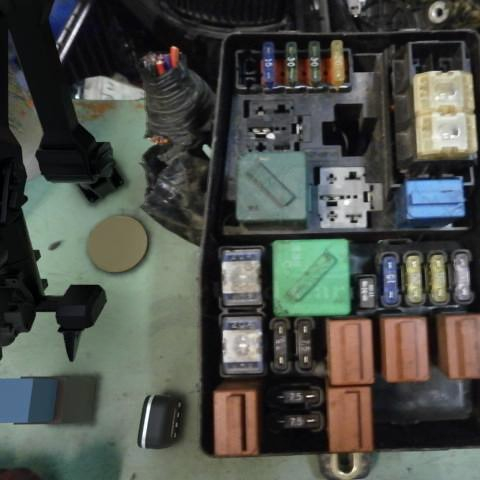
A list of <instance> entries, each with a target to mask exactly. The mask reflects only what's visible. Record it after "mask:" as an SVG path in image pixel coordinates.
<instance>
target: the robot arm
mask: <svg viewBox="0 0 480 480" xmlns="http://www.w3.org/2000/svg"><path fill="white" fill-rule="evenodd" d="M55 1H56V0H0V362H1V361H2V359H3V358H4V357H3V356H4V355H3V348H6V347H8V346H10V345H12V344H13V343H14V342H15V340H16V338H18V337H19V335H20V334H25V333H26V334H27V333H29V332H31V330H32V328H33V326H34V322H35V320H36V319H37V313H54V316H55V317H54V318H55V321H56V325H58V326H59V327H58V328H57V330H56V332H57V333H58V334H60V335H62V338H63V342H64V348H65V352H66V355H67V358H68V362H70V363H73V362H75V359H76V357H77V354H78V350H79V346H80V342H81V336H82V333H83V332H84V331H85V330H88V329H90V328H92V327H94V326H95V325H96V323H97V320H98V319H99V318H100V315H101V313H102V311H103V310H104V308H105V306H106V304H107V302H108V299H107V293H106V290H105V289H104V287H103V286H102V285H100V284H96V283H95V284H93V283H92V284H91V283H90V284H86V283H85V284H79V283H78V284H74V283H73V284H69V286H68V287H67V289H66V291H65V292H64V294H46V293H45V291H46V289H47V288H48V287H49V282H48V278H41V273H40V270H39V266H38V263H37V262H38V261H40V259H41V258H42V254H41V250H40V249H34V247H33V243H32V240H31V236H30V233H29V229H28V225H27V222H26V218H25V213H24V210H23V207H24V205H26V203H27V202H29V197H28V196H27V195H26V194H25V189H26V185H27V181H28V172H27V169H26V166H25V163H24V156H23V148H22V145H21V144H20V141H19V140H18V139H17V137H16V136H15V134H14V133H13V131H12V130H11V127H10V119H9V117H10V116H9V37H10V39H11V43H12V46H13V48H14V51H15V54H16V57H17V60H18V64H19V66H20V69H21V71H22V75H23V79H24V80H25V83H26V87H27V90H28V92H29V95H30V98H31V101H32V104H33V107H34V110H35V113H36V116H37V119H38V122H39V124H40V128H41V130H42V131H41V132H42V136H41V138H40V142H39V145H38V147H37V149H36V150H35V153H34V157H35V160H36V161H37V163H38V164H37V165H38V169H39V172H40V175H41V176H43V178H44V180H45V181H46V182H47V183H51V184H77V186H78V187H79V188H80V190H81V192H82V193H83V195H84V196H85V198H86V199H87V201H88V202H89V203H91V204H93V203H95V202H97V201H99V200H100V199H104V198H106V197H107V196H109V195H111V194H112V193H114V192H115V191H116V190H118V189H119V188H120V187H122V186H124V185H125V180H124V178H123V177H122V175H121V174H120V172H119V171H118V169H117V168H116V167H117V163H118V162H117V161H116V160H115V158H114V148H113V146H112V143H111V142H110V141H97V139H96V137H95V136H94V135H93V134H92V133H91V132H90V131H89V130H88V129H87V128H85V127H84V125H82V124H81V122H79V120H78V115H77V112H76V109H75V105H74V102H73V98H72V95H71V91H70V88H69V84H68V81H67V78H66V74H65V71H64V70H65V69H64V67H63V64H62V60H61V57H60V53H59V49H58V47H57V46H58V45H57V43H56V39H55V36H54V32H53V28H52V25H51V21H50V16H51V13H52V10H53V6H54V4H55Z"/></svg>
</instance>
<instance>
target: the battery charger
mask: <svg viewBox="0 0 480 480" xmlns="http://www.w3.org/2000/svg"><path fill="white" fill-rule="evenodd" d="M183 410H184V401H183V400H182V398H180V397H178V396H175V395H171V394H167V395H165V394H162V393H153V394H148V395H146V396H145V398H144V401H143V403H142V408H141V415H140V419H139V425H138V432H137V440H136V441H137V442H136V443H137V446H138V448H140V449H143V450H164V449H168V448H170V447H172V445H173V443H174V442H176V441H177V440H178V438H179V435H180V430H181V423H182V418H183V417H182V416H183Z"/></svg>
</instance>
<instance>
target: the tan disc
mask: <svg viewBox="0 0 480 480" xmlns="http://www.w3.org/2000/svg"><path fill="white" fill-rule="evenodd" d="M148 240H149V239H148V236H147V232H146V230H145V228H144V226H143V225H142V224H141V223H140V222H139V221H138V220H137V219H134V218H133V217H131V216H127V215H114V216H113V215H112V216H109V217H107V218H105V219H103V220H101V221H99V222H98V223H97V224H96V225H95V227H94V228H93V229H92V230H91V232H90V234H89V235H88V238H87V246H86V248H87V254H88V257H89V259H90V260H91V262H92V263H93V264H94V265H95V266H96V267H97V268H99V269H100V270H103V271H105V272H110V273H124V272H127V271H129V270H132V269H134V268H135V267H136V266H138V265H139V264H140V263H141V262H142V260H143V259H144V257H145V256H146V254H147V250H148V246H149V242H148Z"/></svg>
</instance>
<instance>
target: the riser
mask: <svg viewBox="0 0 480 480" xmlns="http://www.w3.org/2000/svg"><path fill="white" fill-rule="evenodd" d="M19 378H35V379H49V380H58V386H57V394H56V402H55V410H54V418H53V420H50V421H39V422H29V423H12V424H13V425H14V426H17V425H18V426H19V425H21V426H22V425H23V426H26V425H28V426H29V425H66V424H74V423H83V422H92V421H93V414H94V406H95V397H96V396H95V395H96V386H97V378H90V377H79V376H69V375H59V376H58V375H49V376H48V375H47V376H46V375H45V376H44V375H41V376H39V375H34V376H33V375H31V376H27V375H26V376H23V375H22V376H21V375H20V377H19Z"/></svg>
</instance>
